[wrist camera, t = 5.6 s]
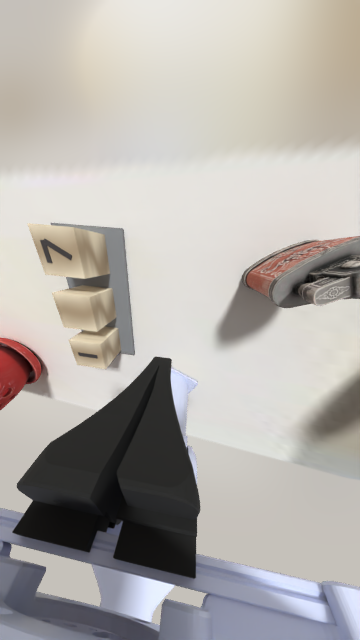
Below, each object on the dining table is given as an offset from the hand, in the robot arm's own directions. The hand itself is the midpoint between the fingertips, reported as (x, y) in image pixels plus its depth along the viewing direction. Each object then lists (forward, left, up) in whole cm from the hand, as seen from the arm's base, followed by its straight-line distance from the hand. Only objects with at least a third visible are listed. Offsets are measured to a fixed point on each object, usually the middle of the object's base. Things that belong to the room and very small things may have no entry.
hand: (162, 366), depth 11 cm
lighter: (+12, -6, -10) cm, 17 cm away
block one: (-10, +8, -10) cm, 16 cm away
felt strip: (-4, +11, -10) cm, 16 cm away
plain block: (-4, +11, -10) cm, 15 cm away
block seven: (+1, +14, -10) cm, 17 cm away
